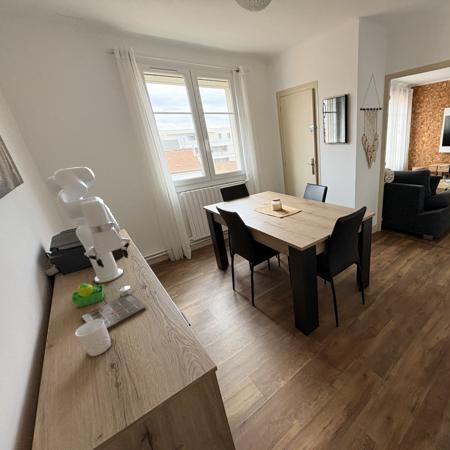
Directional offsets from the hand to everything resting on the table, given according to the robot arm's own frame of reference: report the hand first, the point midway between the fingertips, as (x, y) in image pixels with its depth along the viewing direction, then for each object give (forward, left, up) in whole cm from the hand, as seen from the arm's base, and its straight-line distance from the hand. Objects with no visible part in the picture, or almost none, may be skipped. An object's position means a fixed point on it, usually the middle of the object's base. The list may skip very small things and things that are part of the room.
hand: (114, 261), depth 111 cm
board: (+12, -9, -18) cm, 23 cm away
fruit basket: (-8, -12, -18) cm, 23 cm away
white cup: (+29, -19, -18) cm, 39 cm away
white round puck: (0, 0, -18) cm, 18 cm away
